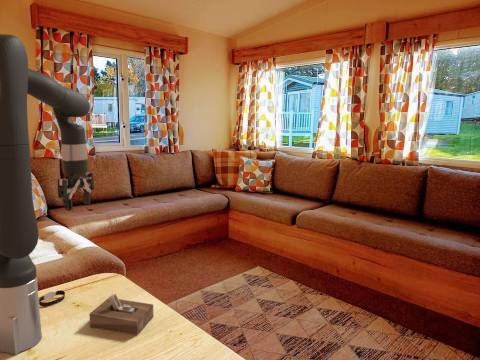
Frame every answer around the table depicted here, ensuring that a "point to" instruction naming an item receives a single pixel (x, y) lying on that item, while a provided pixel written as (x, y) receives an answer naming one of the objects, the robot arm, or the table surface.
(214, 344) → the table surface
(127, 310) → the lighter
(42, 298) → the watch
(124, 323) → the slot stand
